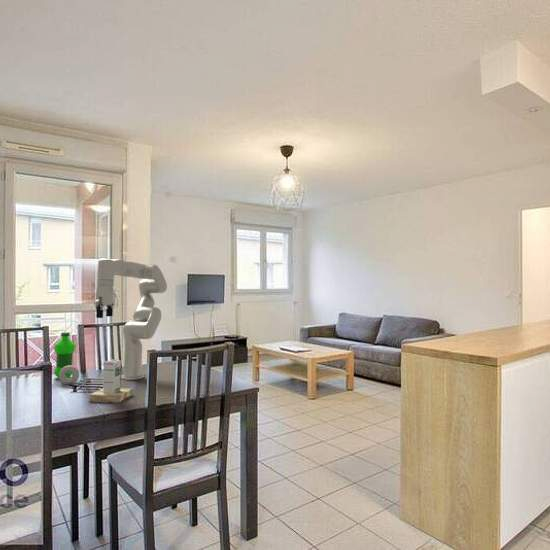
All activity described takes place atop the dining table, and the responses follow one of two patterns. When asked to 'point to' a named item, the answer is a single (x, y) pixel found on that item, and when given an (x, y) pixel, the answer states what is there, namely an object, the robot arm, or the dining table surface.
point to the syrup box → (112, 376)
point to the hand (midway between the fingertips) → (104, 317)
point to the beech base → (110, 395)
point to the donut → (73, 370)
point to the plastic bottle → (64, 353)
